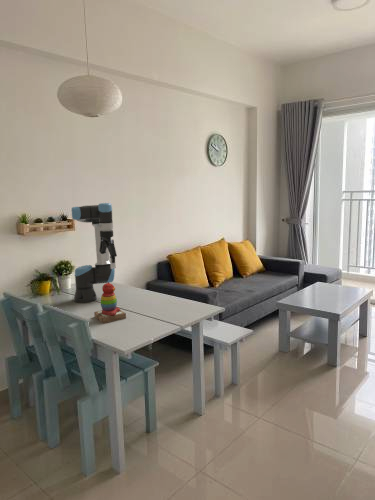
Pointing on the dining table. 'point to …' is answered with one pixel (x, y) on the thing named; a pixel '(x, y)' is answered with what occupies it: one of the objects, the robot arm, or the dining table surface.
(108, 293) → the stacking bear
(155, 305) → the dining table surface
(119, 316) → the picture frame
